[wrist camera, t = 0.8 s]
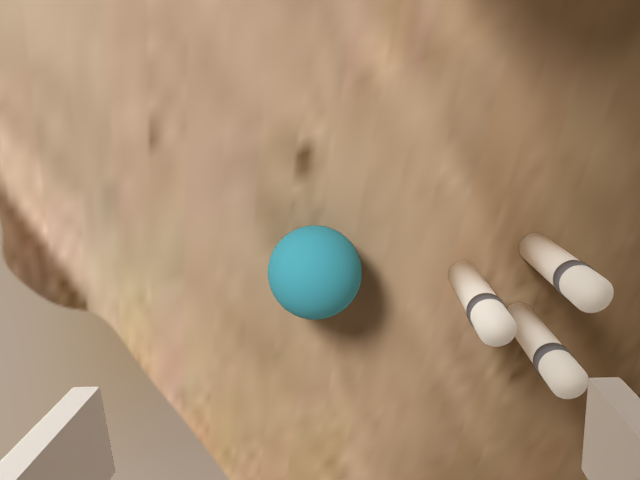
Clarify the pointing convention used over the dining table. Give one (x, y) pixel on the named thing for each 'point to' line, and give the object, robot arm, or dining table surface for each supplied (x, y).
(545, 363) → the pin
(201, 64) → the dining table surface
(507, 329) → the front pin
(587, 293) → the pin
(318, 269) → the teal ball
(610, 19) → the dining table surface
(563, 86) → the dining table surface
